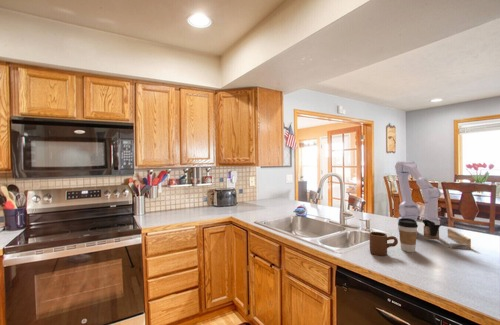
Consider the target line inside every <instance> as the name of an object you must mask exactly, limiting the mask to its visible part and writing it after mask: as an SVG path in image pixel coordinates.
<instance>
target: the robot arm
mask: <svg viewBox="0 0 500 325" xmlns="http://www.w3.org/2000/svg"><path fill="white" fill-rule="evenodd" d="M394 168H395V169H394V170H395V172H396V173H395V174H396V175H397V179H398V185H399V190H400V194H401V201H402V202H400V204H398V207H399V208H398V214H399V215H400V216H398V218H397V230H398V231H399V225H398V223H399V219H401V218H407V219H413V220H415V221H416V222H417V219H418V217H419V216H420V213H421V210H420V208H419V206H418V203H416V202H415V201H413V197H412V192H411V187H410V181H409V176H410V175H411V177H413V179H415V181H416V182H415V183H416V185H417V187H418V188H419V189H420V191H421V196H422V198H423V201H424V214H422V215H423V219H422V220H421V221H422V223H423V224H424V225H423V226H429V228H430V234H431V236H436V235H437V231H438V229H439V230H440V228H441V226H442V225H441V218H440V217H439V204H438V203H439V202H438V200H439V198H440V197H441V195H442V194H441V191H440V189H439V188H438V187H435V186H433V185H432V183H431V182H430V181H429V180H428V178H426V177H423V176H422V174H421V173H420V171H419V170H418V164H417V163H416V162H415V161H414V160H410V161H408V160H404V161H400V160H398V161H397V162H396V163H395V165H394ZM417 234H420V232H419V231H418V230H417Z"/></svg>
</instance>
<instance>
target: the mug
mask: <svg viewBox="0 0 500 325" xmlns="http://www.w3.org/2000/svg"><path fill="white" fill-rule="evenodd" d="M391 240H393V242H389V243H388V241H391ZM398 244H399V241H398V238H397V237H396V236H393V235H389V236H388V235H387V233H384V232H380V231H371V232H370V233H369V252H370V254H372V255H374V256H377V257H378V256H379V257H383V256H387V255H388V249H389V248H392V247H393V248H394V247H395V246H397V245H398Z"/></svg>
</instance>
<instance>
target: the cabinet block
mask: <svg viewBox="0 0 500 325" xmlns="http://www.w3.org/2000/svg"><path fill="white" fill-rule="evenodd" d="M423 237H424V238H425V239H426V240H433V241H434V240H436V241H438V240H439V237H440V228H439V229H438V231H437V235H436V236H431V234H430V228H429V226H425V225H423Z"/></svg>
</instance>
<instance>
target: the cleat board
mask: <svg viewBox="0 0 500 325" xmlns="http://www.w3.org/2000/svg"><path fill="white" fill-rule="evenodd" d="M447 238H449V239H450V240H452V241H454V242H450V243H449V242H448V241H446V240H444V239H443V238H442V237H440V236H439V240H437V241H439V242H440V243H442V244H443V245H444V246H446V247H447V248H450V249H461V250H462V249H463V250H471V249H472V246H471V244H472V240H471V238H469V237H467V236H465V235H464V234H461V233H460V232H458V231H456V230H453V229H452V228H447Z"/></svg>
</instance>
